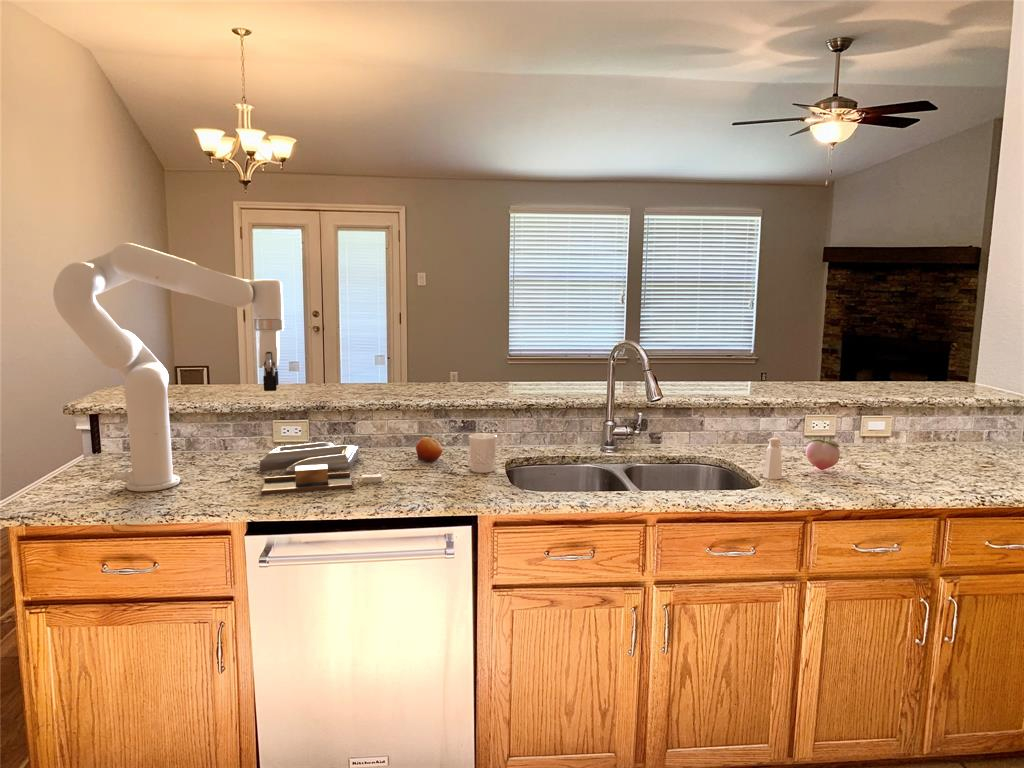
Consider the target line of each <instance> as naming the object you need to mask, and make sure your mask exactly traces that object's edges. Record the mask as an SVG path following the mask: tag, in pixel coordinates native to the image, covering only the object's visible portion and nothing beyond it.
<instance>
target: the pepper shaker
mask: <svg viewBox="0 0 1024 768" xmlns="http://www.w3.org/2000/svg"><path fill="white" fill-rule="evenodd" d="M780 443H781V439H780V438H777V437H770V438H769V445H768V446H767V448H766V455H765V460H764V467H763V473H762V478H765V479H769V480H781V479H782V478H783V469H782V468H783V466H782V465H783V464H782V447H780Z"/></svg>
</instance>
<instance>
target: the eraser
mask: <svg viewBox="0 0 1024 768" xmlns="http://www.w3.org/2000/svg"><path fill="white" fill-rule="evenodd" d="M328 473H329V472H328V466H327V464H324V465H307V466H296V468H295V478H296V487H309V486H324V485H328Z"/></svg>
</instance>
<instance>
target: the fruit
mask: <svg viewBox="0 0 1024 768" xmlns="http://www.w3.org/2000/svg"><path fill="white" fill-rule="evenodd" d="M415 452H416V456H417V460H416V462H419V461H424V462H429V463H434V462H436V461H437V460H438V459H439V458H440V457H441V455H442V453H443V447H442V445H441V443H440V442H439V441H438V439H437V440H436V439H435V438H433V437H426V436H423V437H421V438H420V439H419V440H418V441H417V443H416V446H415Z"/></svg>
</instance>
